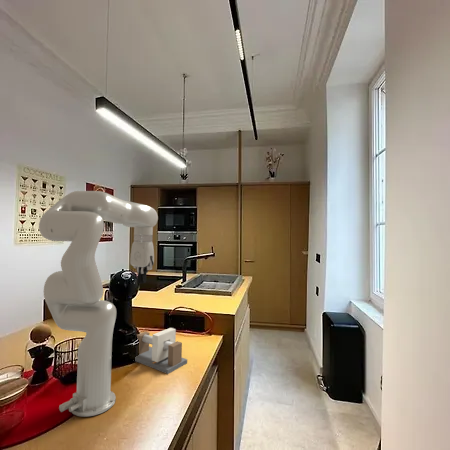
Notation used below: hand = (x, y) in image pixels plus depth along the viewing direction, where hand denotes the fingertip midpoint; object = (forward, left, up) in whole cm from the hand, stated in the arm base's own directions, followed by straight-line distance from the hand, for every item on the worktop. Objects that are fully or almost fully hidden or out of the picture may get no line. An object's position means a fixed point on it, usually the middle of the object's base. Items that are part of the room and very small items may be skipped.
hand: (142, 282), depth 122 cm
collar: (+2, -12, -29) cm, 31 cm away
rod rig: (+2, -9, -31) cm, 32 cm away
